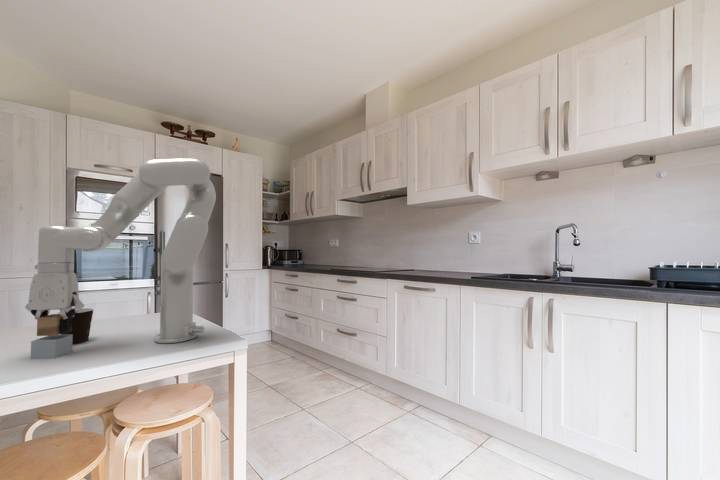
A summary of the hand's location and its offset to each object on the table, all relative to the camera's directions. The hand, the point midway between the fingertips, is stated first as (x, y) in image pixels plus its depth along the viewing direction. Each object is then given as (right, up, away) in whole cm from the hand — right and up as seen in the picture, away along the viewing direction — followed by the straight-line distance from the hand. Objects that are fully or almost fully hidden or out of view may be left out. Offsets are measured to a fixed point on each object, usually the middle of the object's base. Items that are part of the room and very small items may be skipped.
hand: (54, 331), depth 89 cm
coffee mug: (-5, -7, +13) cm, 16 cm away
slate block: (0, -7, 0) cm, 7 cm away
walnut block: (0, -1, 0) cm, 1 cm away
